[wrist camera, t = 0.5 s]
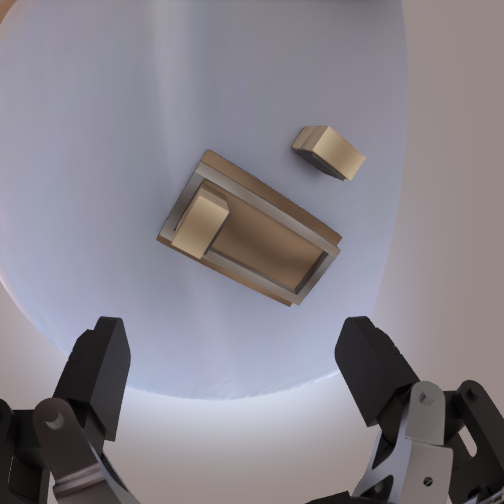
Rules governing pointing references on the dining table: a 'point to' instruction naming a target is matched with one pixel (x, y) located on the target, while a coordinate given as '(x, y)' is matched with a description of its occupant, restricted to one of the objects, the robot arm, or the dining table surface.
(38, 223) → the dining table surface
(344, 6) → the dining table surface
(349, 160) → the maple finger
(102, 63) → the dining table surface
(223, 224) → the rail base
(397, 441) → the robot arm
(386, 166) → the dining table surface
